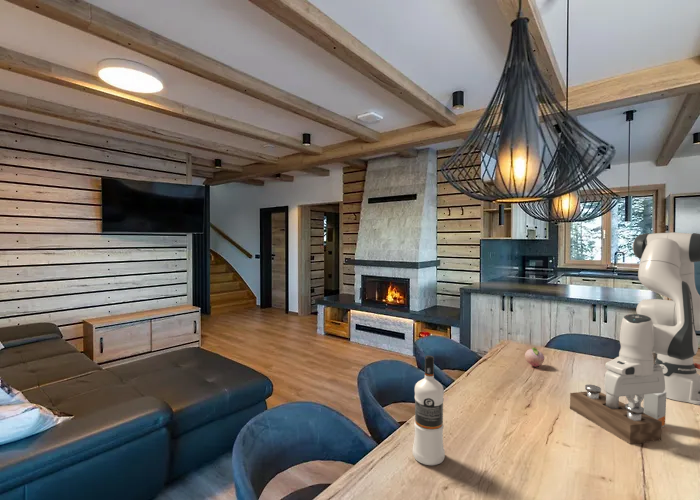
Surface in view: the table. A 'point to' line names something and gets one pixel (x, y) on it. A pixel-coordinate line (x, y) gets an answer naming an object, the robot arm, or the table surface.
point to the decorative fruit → (534, 357)
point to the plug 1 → (593, 391)
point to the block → (616, 419)
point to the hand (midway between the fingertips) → (634, 406)
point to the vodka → (429, 418)
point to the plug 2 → (634, 413)
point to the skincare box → (655, 406)
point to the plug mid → (612, 402)
